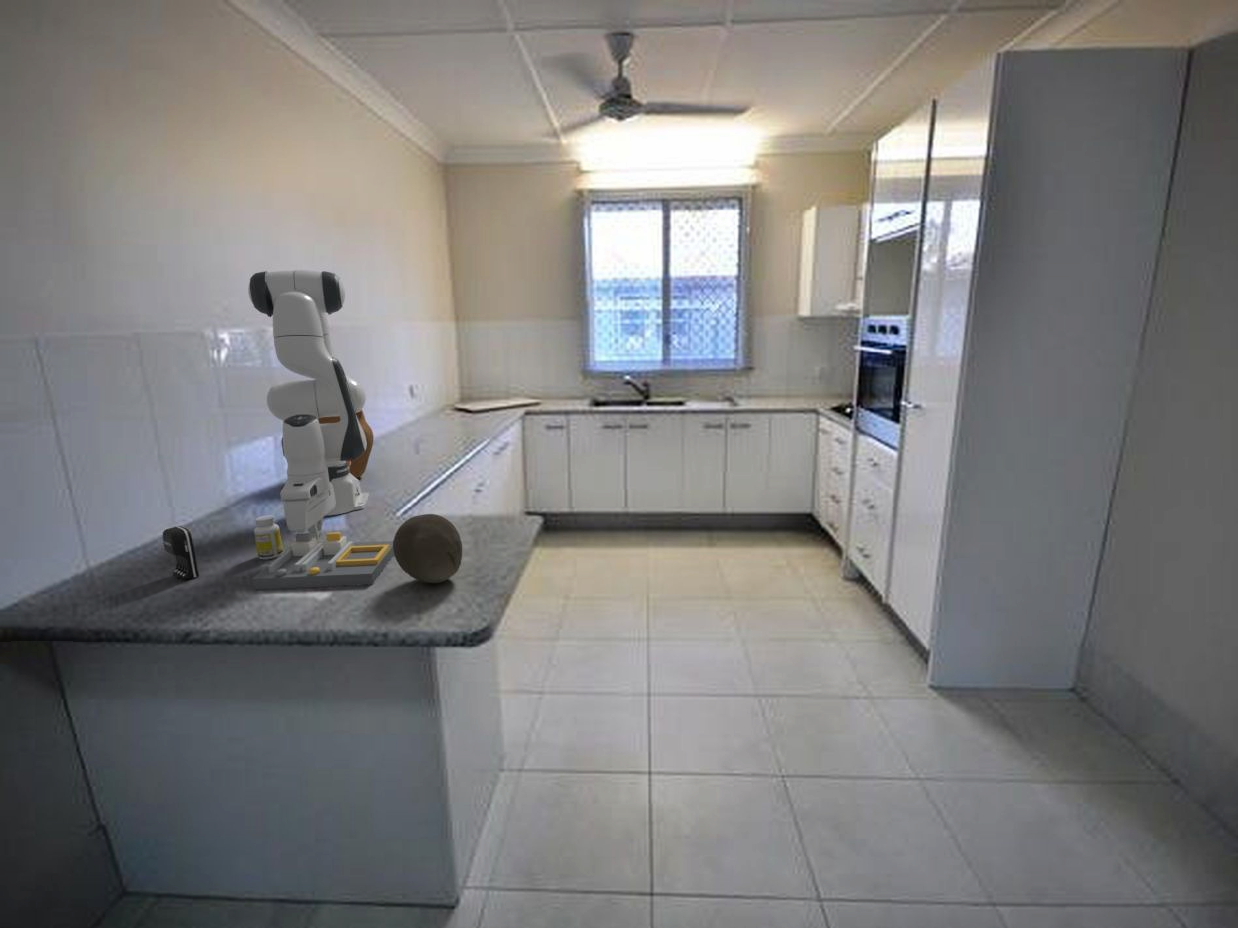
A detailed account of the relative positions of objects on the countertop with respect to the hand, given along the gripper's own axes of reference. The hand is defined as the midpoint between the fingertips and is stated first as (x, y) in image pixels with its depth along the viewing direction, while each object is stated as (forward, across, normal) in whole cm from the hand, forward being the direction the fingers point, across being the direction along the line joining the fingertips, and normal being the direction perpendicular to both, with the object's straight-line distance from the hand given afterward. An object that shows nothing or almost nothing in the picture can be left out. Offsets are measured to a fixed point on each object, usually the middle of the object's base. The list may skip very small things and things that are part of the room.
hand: (316, 537), depth 153 cm
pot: (+4, -73, -20) cm, 76 cm away
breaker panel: (+4, +11, +7) cm, 13 cm away
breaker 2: (+1, +7, +7) cm, 10 cm away
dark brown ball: (+4, +21, +32) cm, 38 cm away
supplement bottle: (+4, +1, -11) cm, 12 cm away
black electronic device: (+4, +12, -25) cm, 28 cm away
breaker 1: (+1, +7, 0) cm, 7 cm away
